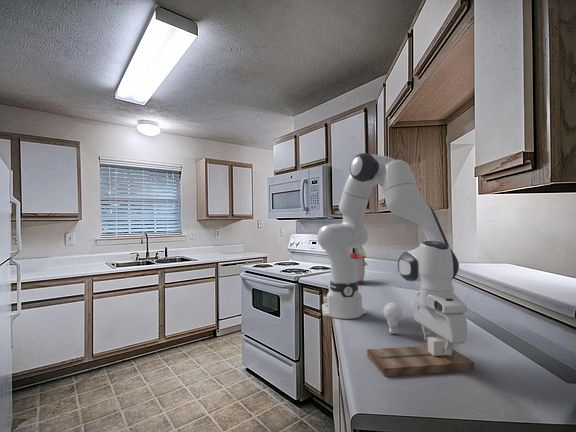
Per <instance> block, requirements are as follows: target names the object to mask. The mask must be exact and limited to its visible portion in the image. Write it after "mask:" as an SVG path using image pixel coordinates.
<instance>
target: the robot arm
mask: <svg viewBox="0 0 576 432" xmlns="http://www.w3.org/2000/svg"><path fill="white" fill-rule="evenodd" d="M349 172H350V173H349V175H348V177H347V180H346V181H345V184H344V187H343V190H342V194H341V198H340V200H339V204H338V210H339V213H340V214H342V222H341V223H330V224H326V225H324V226H321V228H319V230H318V233H317V243H318V244H319V246H320V247H321V248H322V249H323V250H324V251H325V253H326V254H327V256H328V260H329V264H330V280H329V281H330V282H329V290H328V292H327V294H326V296H323V303H322V304H321V310H322V315H323V316H325V317H326V316H327V317H332V318H336V319H342V320H347V319H348V320H350V319H351V320H352V319H357V318H360V317H361V316H363V315H365V314H367V311H366V310H365V309H363V299H362V298H363V297H362V293H360V292H359V284H358V281H357V264H356V262H355V261H354V260H353V259H351V257H350V252H349V249H357V248H360V247H362V246H364V245H366V243H367V241H368V240H369V233H368V229H367V228H366V227H365V215H366V210H367V207H368V203H369V201H370V200H369V199H370V197H371V194H372V190H373V188H374V187H375V186H377V185H378V186H380V187H382V193H383V198H384V201H385V205H386V207H387V209H388V211H390V212H391V213H392V214H393V215H394V216H396V217H399V218H403V219H406V220H408V221H411V222H413V223H415V224H416V225H418V227H420V229H421V230H422V232H423V234H424V236H425V239H426V241H425V240H424V241H422V242H421V243H420V244H419V246H417V247H416V248H414V249H411V250H409V251H404V252H402V254H400V256H399V258H398V260H397V270H398V274H400V276H401V277H402V278H403V279H404V280H405V281H407V282H417V283H419V292H418V293H417V294H416V297H415V299H414V301H413V302H414V303H413V316H412V317H413V319H414V321H415V322H416V323H418V324H420V325H421V330H422V333H423V335H424V336H423V337H424V341H425V342H427V343H428V337H434V336H433V335H432V333H431V332H433V333H434V334H436V335H438V337H442V338H444V339H445V343H446V344H445V347H443V353H444V354H446V355H452V349H454V346H455V345H461V344H466V342H467V340H468V323H467V322H468V321H467V316H466V315H465V313H467V312H468V307H467V304H466V303H465V302H464V301H463V300H461V299H460V298H459V297H458V296H457V294H455V290H454V288H455V287H454V285H453V280H454V279H455V278H456V276H457V274H458V272H459V270H460V263H459V260H458V258H457V256H456V254H455V253H454V251H453V250H452V249H451V246H450V244H449V243H448V240H447V237H446V235H445V233H444V231H443V229H442V226H441V223H440V221H439V219H438V216H437V215H436V212H435V211H434V209H433V207H432V206H431V205H429V203H427V202H426V201H425V199H424V198H423V196H422V195H421V193H420V191H419V189H418V185H417V182H416V179H415V175H414V173H413V171H412V168H411V166H410V165H409V163H408V162H406V161H404V160H402V159H397V158H395V157H393V158H392V157H390V156H386V155H382V154H371V153H368V152H367V153H365V152H363V153H358V154H356V155H354V156H353V158H352V160H351V162H350V164H349Z"/></svg>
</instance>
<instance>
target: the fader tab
mask: <svg viewBox="0 0 576 432" xmlns="http://www.w3.org/2000/svg"><path fill="white" fill-rule="evenodd" d="M445 344H446V343H445V339H444V338H443V337H441V336H433V337H428V342H427V346H428V352H429V353H431V354H432V355H433V356H440V355H446V354H444V353H443V347H445Z"/></svg>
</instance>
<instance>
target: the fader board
mask: <svg viewBox="0 0 576 432" xmlns="http://www.w3.org/2000/svg"><path fill="white" fill-rule="evenodd" d="M366 352H367V353H366V354H367V355H366V357H367V358H368V359H369V360H370V361H371V362H372V364H373V365H374V366H375V367H376V369H377V370H378V371H379V372H380V373H381V374H382V376H384V377H393V376H407V375H421V374H435V373H436V374H437V373H449V372H462V371H464V372H465V371H474V370H475V362H474V361H472V360H471V359H470V358H468V357H466V356H465V355H463V354H462V353H460V352H458V351H457V350H455V349H454V348H452V355H440V356H433V355H432V354H431V353H429V352H428V345H419V346H403V347H400V346H399V347H388V348H387V347H385V348H384V347H383V348H369V349H367V351H366Z"/></svg>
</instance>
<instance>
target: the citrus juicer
mask: <svg viewBox="0 0 576 432" xmlns="http://www.w3.org/2000/svg"><path fill="white" fill-rule="evenodd" d="M349 255H350V257H351V259H353V260H354V261H355V262H356V264H357V281H358V285H361V284H363V282H364V280H365V279H364V278H365V272H366V271H365V269H366V267H365V266H369V264H368V262H366V261H365V256H363V255H357V254H356V253H355V252H350V253H349Z"/></svg>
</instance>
